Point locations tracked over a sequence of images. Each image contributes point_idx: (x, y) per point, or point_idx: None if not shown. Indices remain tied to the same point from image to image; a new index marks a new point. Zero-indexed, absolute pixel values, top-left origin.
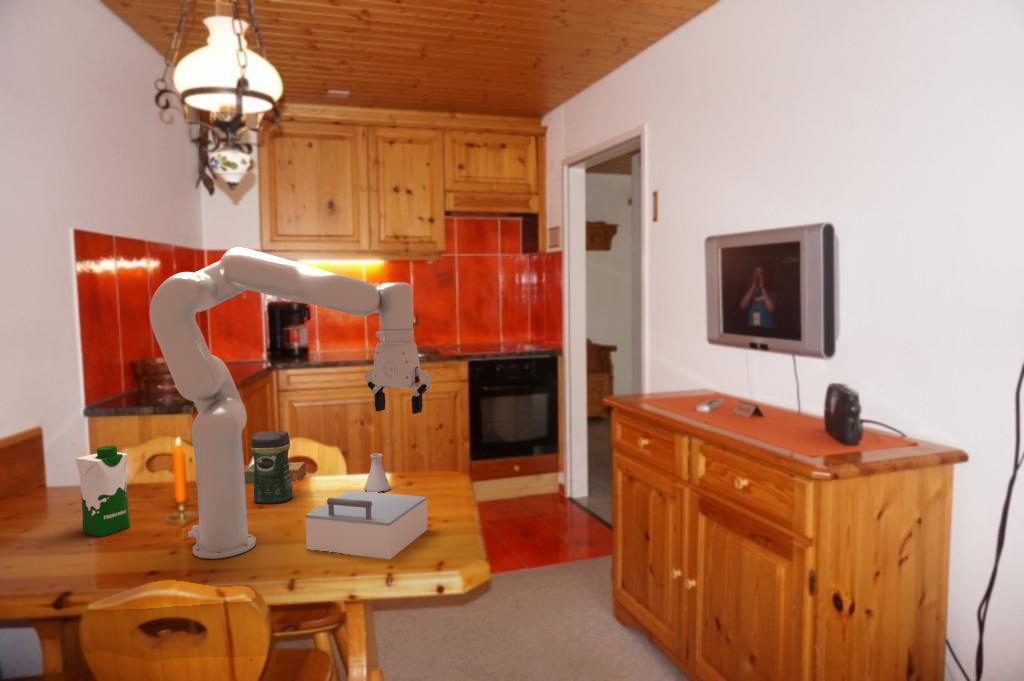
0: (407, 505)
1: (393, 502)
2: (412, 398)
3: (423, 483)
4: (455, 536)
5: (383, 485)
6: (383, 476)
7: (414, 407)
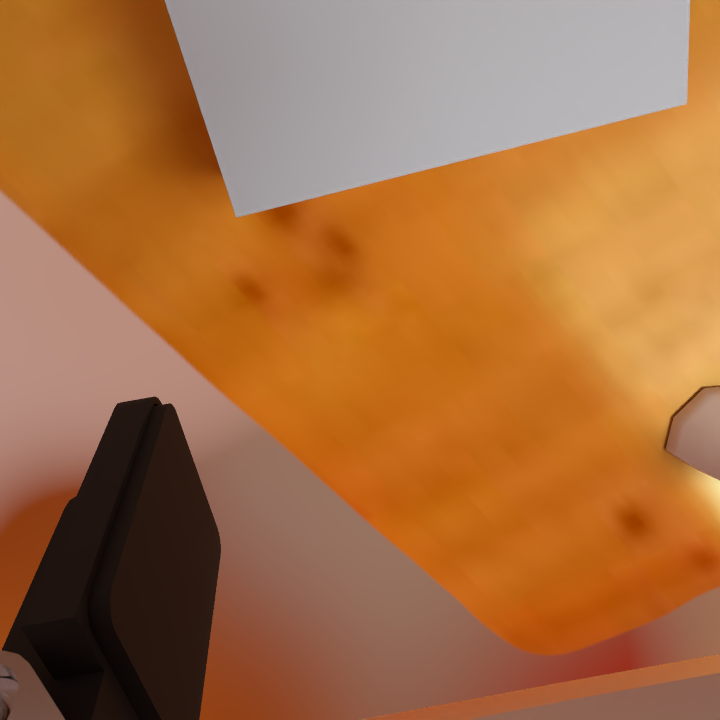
0: (217, 41)
1: (326, 46)
2: (83, 578)
3: (587, 543)
4: (85, 167)
5: (692, 433)
6: (717, 463)
7: (94, 459)
